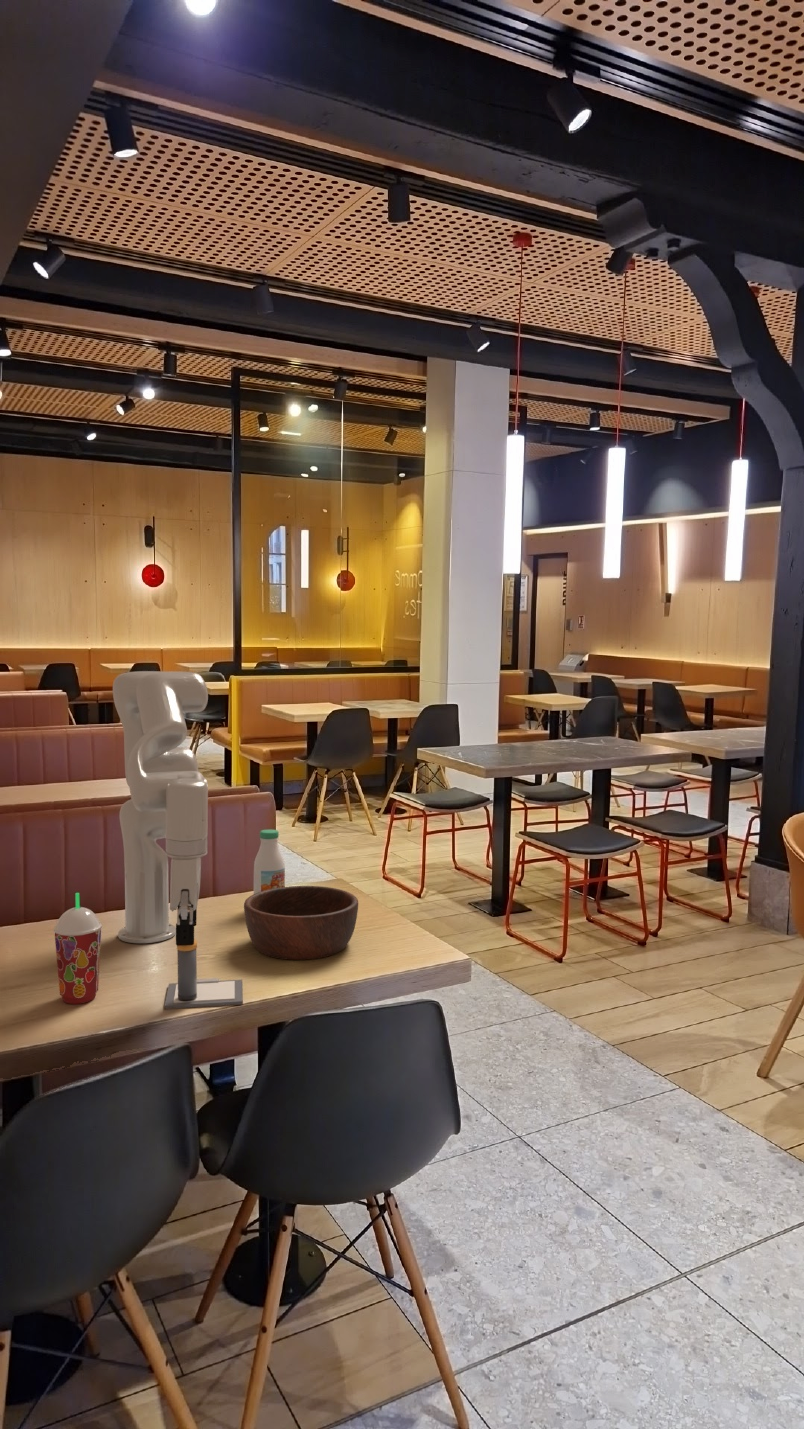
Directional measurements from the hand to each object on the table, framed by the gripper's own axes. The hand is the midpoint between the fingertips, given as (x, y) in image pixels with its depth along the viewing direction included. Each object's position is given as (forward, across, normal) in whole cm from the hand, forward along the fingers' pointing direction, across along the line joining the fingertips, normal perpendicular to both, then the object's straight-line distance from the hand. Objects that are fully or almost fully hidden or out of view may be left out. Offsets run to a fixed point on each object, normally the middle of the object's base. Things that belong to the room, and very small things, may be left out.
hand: (186, 935), depth 171 cm
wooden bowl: (+13, -26, +23) cm, 37 cm away
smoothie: (+12, -2, -20) cm, 23 cm away
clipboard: (+12, 0, +4) cm, 12 cm away
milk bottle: (+14, -54, +17) cm, 58 cm away
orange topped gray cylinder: (+11, +3, 0) cm, 11 cm away
